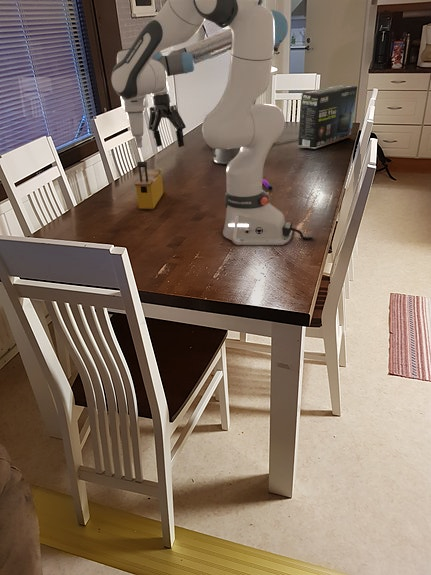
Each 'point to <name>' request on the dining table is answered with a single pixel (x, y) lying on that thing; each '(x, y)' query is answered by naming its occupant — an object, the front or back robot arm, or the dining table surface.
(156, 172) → the lid
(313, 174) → the dining table surface
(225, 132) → the front robot arm
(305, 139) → the router box
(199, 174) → the dining table surface
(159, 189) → the chest
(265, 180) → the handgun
